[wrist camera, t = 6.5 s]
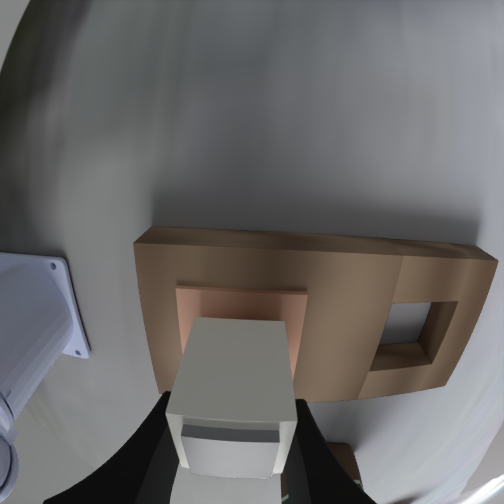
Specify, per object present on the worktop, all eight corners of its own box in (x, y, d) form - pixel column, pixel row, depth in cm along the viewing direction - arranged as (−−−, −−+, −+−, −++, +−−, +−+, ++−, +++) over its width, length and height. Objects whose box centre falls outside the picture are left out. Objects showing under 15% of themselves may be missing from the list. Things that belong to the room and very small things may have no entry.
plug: (199, 378, 14) (180, 476, 9) (194, 316, 13) (161, 425, 7) (276, 382, 14) (282, 483, 9) (284, 321, 13) (299, 434, 7)
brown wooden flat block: (167, 367, 19) (158, 396, 16) (150, 227, 15) (131, 245, 12) (432, 364, 19) (446, 388, 16) (476, 246, 15) (501, 262, 12)
